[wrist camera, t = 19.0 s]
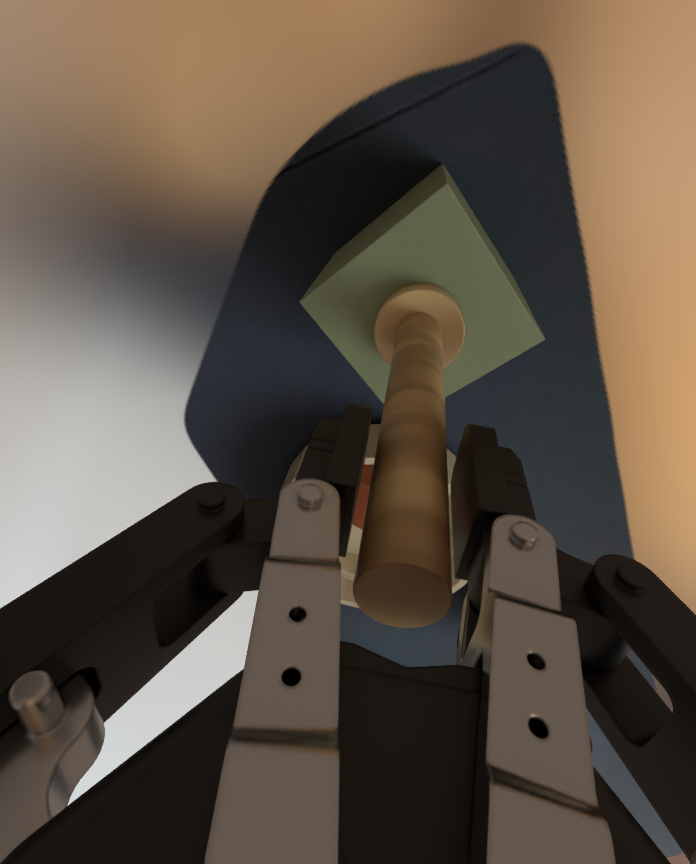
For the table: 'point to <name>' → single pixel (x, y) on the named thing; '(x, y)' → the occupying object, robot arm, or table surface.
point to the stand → (423, 263)
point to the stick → (411, 464)
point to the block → (363, 496)
